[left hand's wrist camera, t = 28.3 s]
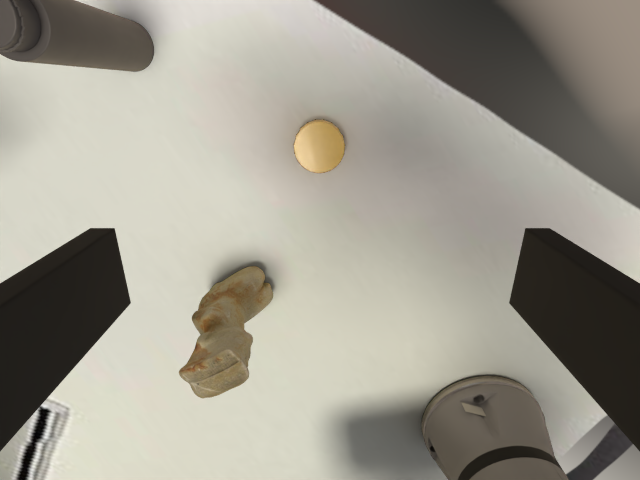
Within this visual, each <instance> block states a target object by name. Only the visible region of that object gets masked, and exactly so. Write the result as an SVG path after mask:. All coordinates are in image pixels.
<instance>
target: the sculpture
mask: <svg viewBox="0 0 640 480" xmlns="http://www.w3.org/2000/svg"><path fill="white" fill-rule="evenodd" d="M264 280H265V275H264V272H263V271H262V270H261V269H260V268H258V267H255V266H250V267H246V268H244V269H242V270H240V271H238V272H236V273H235V274H233V275H231V276H230V277H228V278H227V279H225V280H224V281H222V282H218V283H216V284H215V285H214V286H213V287H212V288H211V290H210V291H209V292H208V293H207V294H206V295H205V296H204V297H203V298H202V300H201V302H200V304H199V309H198V311H196V312H195V313H194V314H193V316H192V321H193V323H194V325H195V327H196V328H197V330H198V331H199V333H200V334H201V335H200V336H199V338H198V339H197V343H196V347H195V349H194V351H193V353H192V355H191V357H190V359H189V361H188V363H187V364H186V365H185V366H184V367H183V368H181V369H180V371H179V374H180V376H181V377H182V378H183V379H184V380H185V381H186V382H188V383H189V384H190V385H191V388H192V390H193V391H194V393H195V394H196V395H197V396H198V397H200V398H206V397H213V396H217V395H220V394H222V393H224V392H226V391H228V390H230V389H232V388H234V387H237V386H239V385H241V384H243V383H244V382H245V381H246V380H247V379H248V377H249V371H248V368H247V367H248V361H249V358H250V348H251V345H252V342H253V337H252V335H251V334H249V333H247V332H246V331H245V330H244V323H246V322H247V321H248V320H250V319H251V318H253V317H254V316H255V315H257V314H258V313H259V312H260V311H262V310H263V309H264V308H265V307H266V306H267V305H268V304H269V303H270V302H271V300H272V298H273V292H272V289H271V285H270V284H269V283H263V282H264Z"/></svg>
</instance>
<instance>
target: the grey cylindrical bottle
mask: <svg viewBox="0 0 640 480" xmlns="http://www.w3.org/2000/svg"><path fill="white" fill-rule="evenodd" d="M0 54H1V55H3V56H5V57H7V58H9V59H12V60H15V61H21V62H32V63H44V64H55V65H66V66H77V67H89V68H100V69H111V70H123V71H141V70H143V69H145V68H146V67H147V66H148V65H149V64H150V63H151V61H152V58H153V54H154V47H153V43H152V40H151V37H150V35H149V34H148V32H147V31H146V30H145V29H144V28H143V27H142V26H141V25H140V24H138V23H136V22H134V21H131V20H128V19H125V18H123V17H120V16H117V15H114V14H111V13H109V12H106V11H103V10H100V9H97V8H95V7H92V6H89V5H86V4H83V3H81V2H78V1H75V0H0Z"/></svg>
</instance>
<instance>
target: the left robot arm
mask: <svg viewBox="0 0 640 480" xmlns="http://www.w3.org/2000/svg"><path fill="white" fill-rule="evenodd" d="M130 303H131V302H130V297H129V293H128V288H127V284H126V279H125V274H124V270H123V265H122V261H121V256H120V251H119V247H118V242H117V238H116V233H115V228H90V229H89V230H87V231H85V232H84V233H82V234H80V235H79V236H77V237H76V238H74V239H72V240H71V241H69V242H67V243H66V244H64V245H62V246H61V247H59V248H58V249H56V250H54V251H53V252H51V253H49V254H48V255H46V256H44V257H43V258H41V259H40V260H38V261H36V262H35V263H33V264H31V265H30V266H28V267H26V268H25V269H23V270H22V271H20V272H18V273H17V274H15V275H13V276H12V277H10V278H8V279H7V280H5V281H4V282H2V283H0V451H1V450H2V449H3V448H4V446H5V445H6V444H7V443H8V442H9V441H10V440H11V438H12V437H13V436H14V435H15V434H16V433H17V432H18V430H19V429H20V428H21V427H22V426H23V425H24V424H25V423H26V421H27V420H28V419H29V418H30V417H31V416H32V415H33V413H34V412H35V411H36V410H37V409H38V408H39V407H40V405H41V404H42V403H43V402H44V401H45V400H46V399H47V398H48V396H49V395H50V394H51V393H52V392H53V391H54V390H55V388H56V387H57V386H58V385H59V384H60V383H61V382H62V381H63V379H64V378H65V377H66V376H67V375H68V374H69V373H70V371H71V370H72V369H73V368H74V367H75V366H76V365H77V363H78V362H79V361H80V360H81V359H82V358H83V357H84V356H85V354H86V353H87V352H88V351H89V350H90V349H91V348H92V346H93V345H94V344H95V343H96V342H97V341H98V340H99V338H100V337H101V336H102V335H103V334H104V333H105V332H106V331H107V329H108V328H109V327H110V326H111V325H112V324H113V323H114V321H115V320H116V319H117V318H118V317H119V316H120V315H121V313H122V312H123V311H124V310H125V309H126V308H127V307H128V306H129V304H130ZM509 303H510V304H511V306H512V307H513V308H514V309H515V310H516V311H517V312H518V313H519V315H520V316H521V317H522V318H523V319H524V320H525V321H526V323H527V324H528V325H529V326H530V327H531V328H532V329H533V331H534V332H535V333H536V334H537V335H538V336H539V337H540V338H541V340H542V341H543V342H544V343H545V344H546V345H547V346H548V348H549V349H550V350H551V351H552V352H553V353H554V354H555V356H556V357H557V358H558V359H559V360H560V361H561V362H562V363H563V365H564V366H565V367H566V368H567V369H568V370H569V371H570V373H571V374H572V375H573V376H574V377H575V378H576V379H577V381H578V382H579V383H580V384H581V385H582V386H583V387H584V388H585V390H586V391H587V392H588V393H589V394H590V395H591V396H592V398H593V399H594V400H595V401H596V402H597V403H598V404H599V405H600V407H601V408H602V409H603V410H604V411H605V412H606V413H607V415H608V416H609V417H610V418H611V419H612V420H613V421H614V423H615V424H616V425H617V426H618V427H619V428H620V429H621V430H622V432H623V433H624V434H625V435H626V436H627V437H628V438H629V440H630V441H631V442H632V443H633V444H634V445H635V446H636V447H637V449H638V450H639V451H640V283H638V282H636V281H635V280H633V279H631V278H630V277H628V276H627V275H625V274H623V273H622V272H620V271H618V270H617V269H615V268H614V267H612V266H610V265H609V264H607V263H605V262H604V261H602V260H600V259H599V258H597V257H596V256H594V255H592V254H591V253H589V252H587V251H586V250H584V249H582V248H581V247H579V246H578V245H576V244H574V243H573V242H571V241H569V240H568V239H566V238H564V237H563V236H561V235H560V234H558V233H556V232H555V231H553V230H551V229H550V228H525V233H524V238H523V242H522V247H521V251H520V256H519V261H518V265H517V270H516V274H515V279H514V284H513V288H512V293H511V297H510V302H509ZM421 427H422V434H423V437H424V440H425V444H426V446H427V448H428V450H429V452H430V454H431V456H432V457H433V459H434V460H435V461H436V463H437V464H438V466H439V467H440V468H441V470H442V471H443V473H444V474H445V475H446V477H447V478H448V480H569V479H568V477H567V476H566V474H565V473H564V471H563V470H562V468H561V467H560V465H559V463H558V462H557V460H556V459H555V456H554V453H553V449H552V445H551V441H550V438H549V434H548V431H547V427H546V424H545V418H544V415H543V412H542V410H541V408H540V406H539V404H538V403H537V401H536V400H535V398H534V397H533V395H532V394H531V393H530V392H529V390H528V389H526V388H525V387H524V386H523V385H521V384H519V383H518V382H516V381H513V380H511V379H507V378H503V377H497V376H479V377H473V378H469V379H465V380H462V381H459V382H457V383H454V384H452V385H451V386H449V387H447V388H445V389H444V390H442V391H441V392H440V393H439V394H437V395H436V396H435V397H434V398H433V399H432V401H431V402H430V403H429V404H428V406H427V408H426V410H425V412H424V414H423V417H422V424H421Z"/></svg>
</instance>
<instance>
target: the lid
mask: <svg viewBox="0 0 640 480" xmlns="http://www.w3.org/2000/svg"><path fill="white" fill-rule="evenodd" d="M295 137H296V139H295V142H294V154H295V156H296V158H297V160H298V162H299V163H300V164H301V165H302V166H303V167H304V168H305V169H307V170H308V171H311V172H314V173H325V172H328V171H330V170H332V169H334V168H335V167H336V166H337V165H338V164H339V163H340V162H341V160H342V157H343V155H344V150H345V144H344V140H343V135H341V133H340V131H339V128H337V127H336V126H335V125H333V124H332V122H331V123H330V122H328V121H325V120H324V119H323V120H316V119H315V120H314V121H311V122H307V124H305V125H304V126H303V127H301V128H300V131H299V132H298V134H296V136H295Z"/></svg>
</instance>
